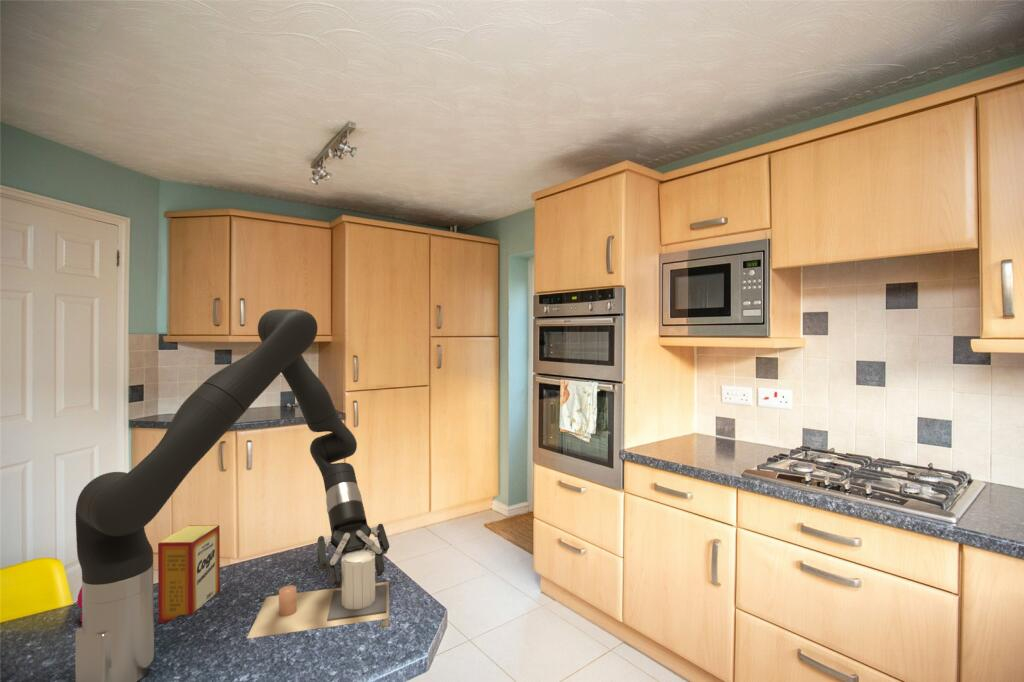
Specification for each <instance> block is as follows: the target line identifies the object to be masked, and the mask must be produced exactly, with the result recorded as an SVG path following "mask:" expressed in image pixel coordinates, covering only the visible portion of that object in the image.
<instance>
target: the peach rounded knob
mask: <svg viewBox="0 0 1024 682" xmlns="http://www.w3.org/2000/svg"><path fill="white" fill-rule="evenodd" d="M296 593H297V586H296V585H294V584H293V585H291V584H290V585H284V586H283V587H280V588H279V589H278V595H279V615H280V616H290V615H292V614H294V613H295V612H296V611H297V594H296Z"/></svg>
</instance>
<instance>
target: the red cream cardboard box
mask: <svg viewBox="0 0 1024 682" xmlns="http://www.w3.org/2000/svg"><path fill="white" fill-rule="evenodd" d="M220 537H221V536H220V524H206V525H204V524H199V525H197V524H196V525H192V524H191V525H190V524H189V525H187V526H186V527H183V529H180V530H179V531H176V532H174V533H173V534H171V535H169V536H168V537H166V538H165V539H162V540H161V541H160V542H158V543H157V559H158V560H157V561H158V562H157V564H158V565H157V569H158V570H157V571H158V572H157V575H158V576H157V578H158V580H157V581H158V585H157V587H158V590H157V591H158V595H157V596H158V601H157V602H158V623H159V622H160V623H169V622H171V621H172V620H174V619H176V618H177V617H179V616H181V615H182V616H183V615H184V616H185V615H193V614H194V613H195V612H196V611H197V610H199V609H200V608H201V607H202V606H203V605H205V604H206V603H207V602H208V601H210V599H211V598H213V597H214V596H216V595H218V594H220V591H221V586H220V585H221V583H220V582H221V577H220V576H221V572H220V571H221V570H220V568H221V564H220V563H221V562H220V561H221V560H220V559H221V558H220V557H221V555H220V547H221V545H220V542H221V541H220Z"/></svg>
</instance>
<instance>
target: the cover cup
mask: <svg viewBox="0 0 1024 682" xmlns="http://www.w3.org/2000/svg"><path fill="white" fill-rule="evenodd" d="M340 562H341V587H342V606H343V607H345V608H347V609H361V608H364V607H367V606H369V605H371V604H372V603H373V602H374V601H375V583H376V568H375V553H374V552H372V551H369V550H357V551H353V552H350V553H347V554H343V556H341V561H340Z"/></svg>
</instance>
